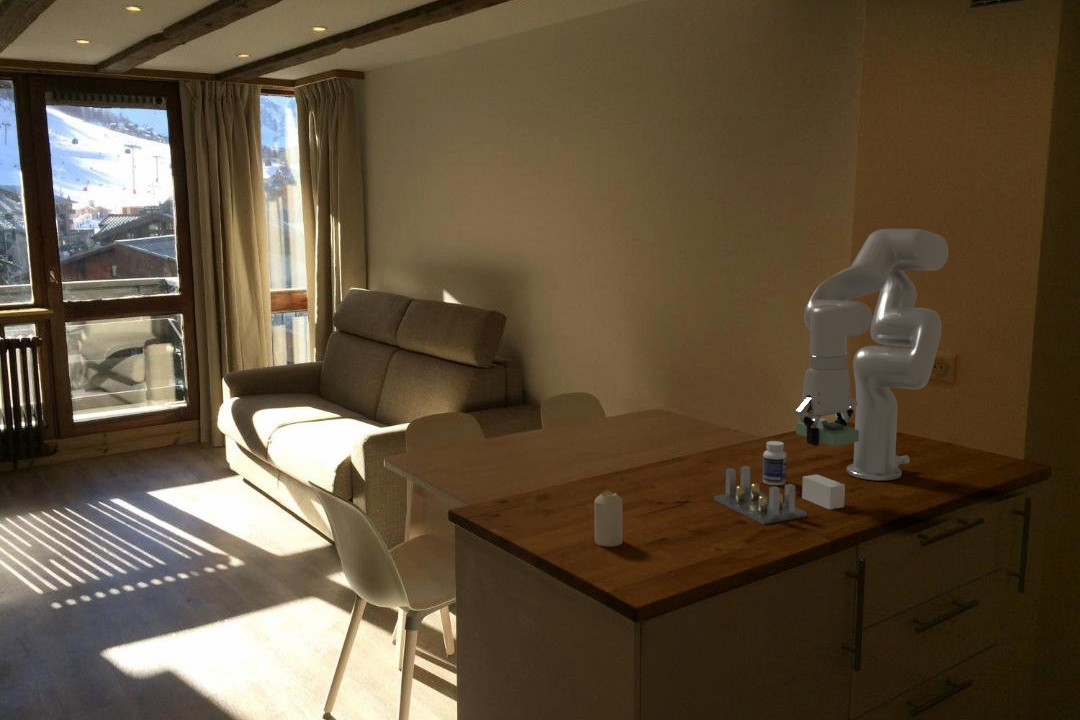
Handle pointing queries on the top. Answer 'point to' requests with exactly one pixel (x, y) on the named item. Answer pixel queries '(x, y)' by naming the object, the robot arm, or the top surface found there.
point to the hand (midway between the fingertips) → (826, 441)
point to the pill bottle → (774, 464)
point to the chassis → (759, 499)
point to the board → (831, 432)
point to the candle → (608, 519)
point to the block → (823, 491)
